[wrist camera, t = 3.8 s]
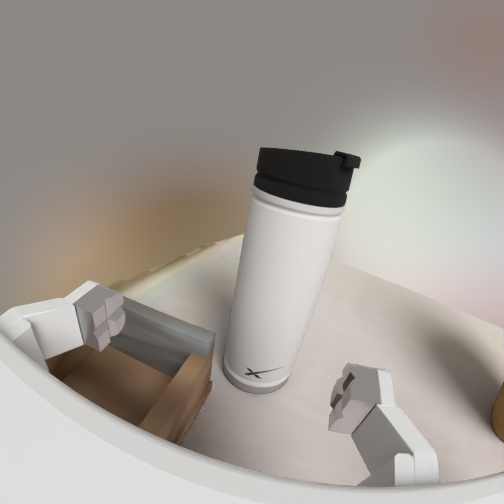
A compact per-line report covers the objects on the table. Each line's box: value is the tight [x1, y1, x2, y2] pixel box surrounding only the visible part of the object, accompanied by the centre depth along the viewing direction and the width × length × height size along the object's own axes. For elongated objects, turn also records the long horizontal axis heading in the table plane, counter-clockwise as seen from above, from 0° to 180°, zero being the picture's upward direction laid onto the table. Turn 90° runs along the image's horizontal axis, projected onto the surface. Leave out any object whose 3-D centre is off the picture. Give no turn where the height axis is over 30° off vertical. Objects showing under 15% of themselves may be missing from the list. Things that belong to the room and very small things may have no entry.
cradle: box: [45, 296, 215, 445], centre depth 17 cm, size 12×12×7 cm
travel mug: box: [223, 147, 361, 394], centre depth 21 cm, size 6×7×20 cm
